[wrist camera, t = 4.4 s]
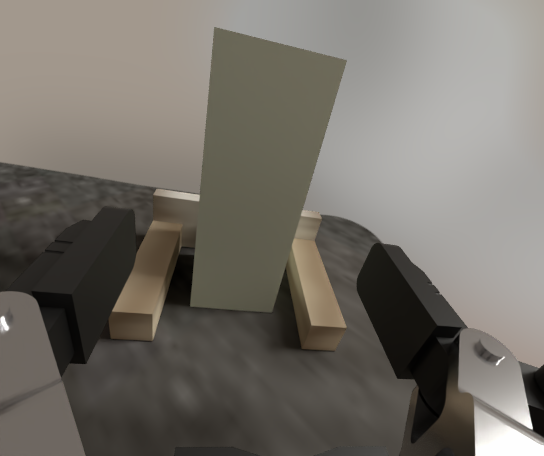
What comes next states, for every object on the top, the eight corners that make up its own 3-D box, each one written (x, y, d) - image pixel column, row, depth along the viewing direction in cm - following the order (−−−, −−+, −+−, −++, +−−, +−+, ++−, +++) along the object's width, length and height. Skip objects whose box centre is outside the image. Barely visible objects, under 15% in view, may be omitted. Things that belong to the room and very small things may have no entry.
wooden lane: (110, 338, 14) (103, 278, 12) (156, 235, 22) (156, 188, 20) (335, 350, 17) (359, 301, 15) (305, 253, 24) (318, 212, 22)
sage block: (190, 306, 17) (214, 27, 10) (200, 255, 21) (222, 32, 14) (272, 312, 18) (346, 60, 11) (266, 262, 22) (317, 56, 15)
